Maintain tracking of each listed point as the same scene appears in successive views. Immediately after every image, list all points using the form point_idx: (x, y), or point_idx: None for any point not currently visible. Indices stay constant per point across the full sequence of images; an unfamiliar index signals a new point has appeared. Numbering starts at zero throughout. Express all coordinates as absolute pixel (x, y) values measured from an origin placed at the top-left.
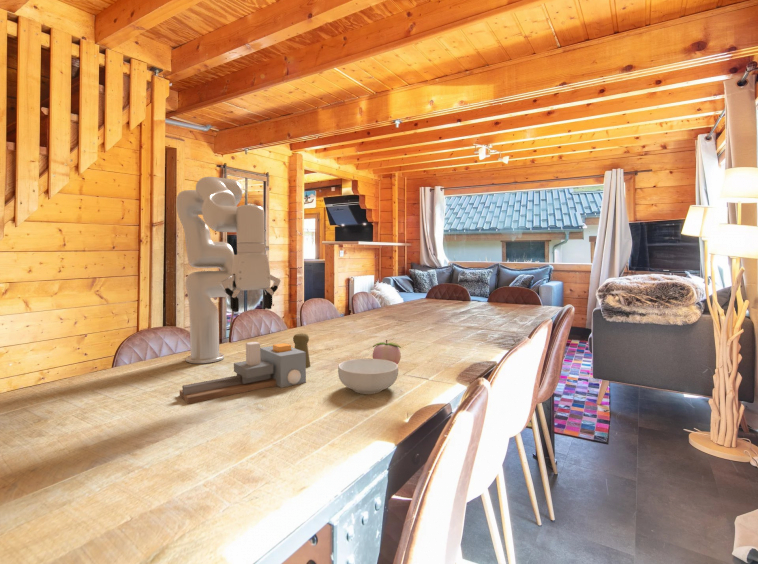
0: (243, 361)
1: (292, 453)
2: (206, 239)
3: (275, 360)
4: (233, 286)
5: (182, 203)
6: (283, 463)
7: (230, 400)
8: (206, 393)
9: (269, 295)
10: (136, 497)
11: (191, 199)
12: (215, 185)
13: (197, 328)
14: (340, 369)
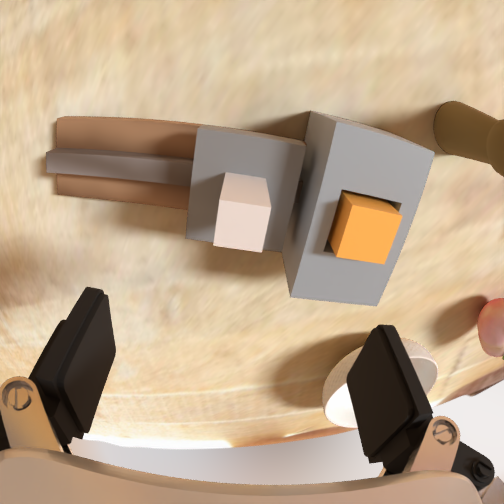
0: (236, 135)
1: (142, 414)
2: None
3: (296, 252)
4: (8, 466)
5: None
6: (127, 417)
7: (139, 234)
8: (95, 192)
9: (371, 461)
10: (21, 374)
11: None
12: None
13: None
14: (334, 390)
